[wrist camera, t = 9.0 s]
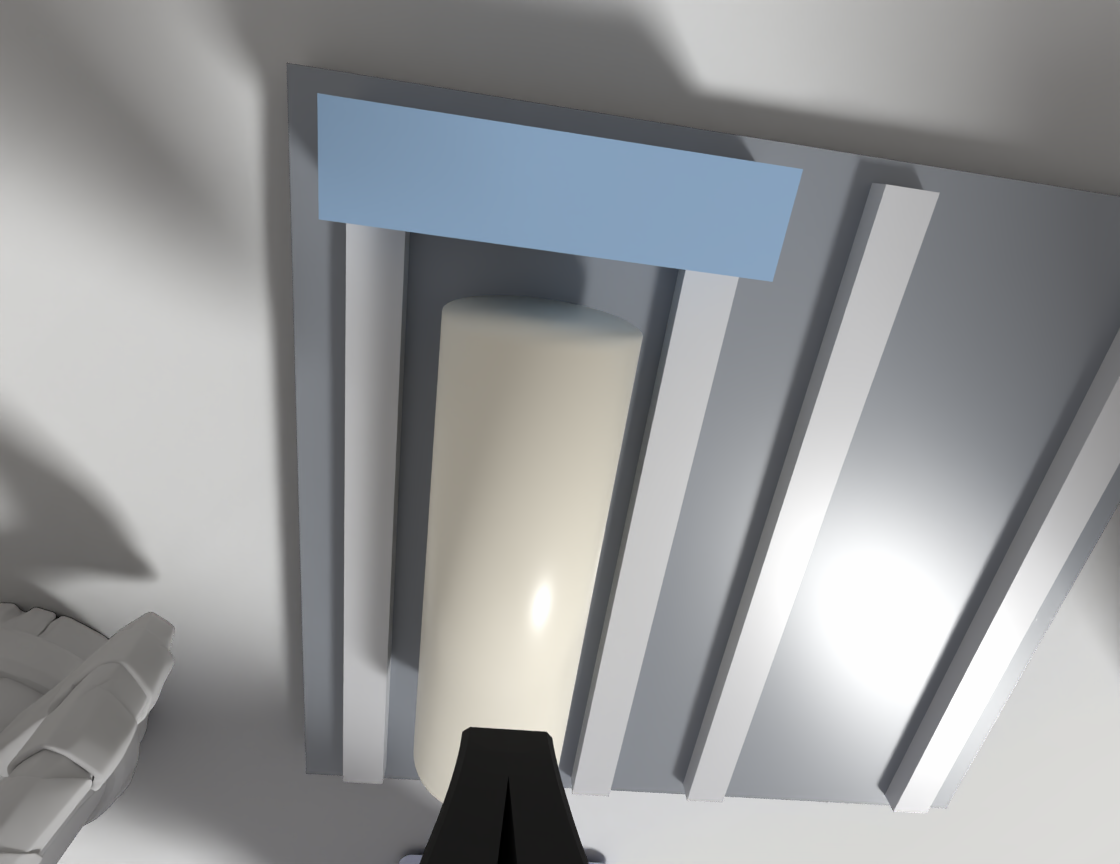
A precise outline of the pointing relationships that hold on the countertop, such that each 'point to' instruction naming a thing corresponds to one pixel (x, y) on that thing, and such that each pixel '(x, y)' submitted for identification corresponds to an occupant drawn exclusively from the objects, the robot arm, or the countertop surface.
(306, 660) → the board
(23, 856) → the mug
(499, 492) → the cream paper roll
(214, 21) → the countertop surface
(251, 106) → the countertop surface
